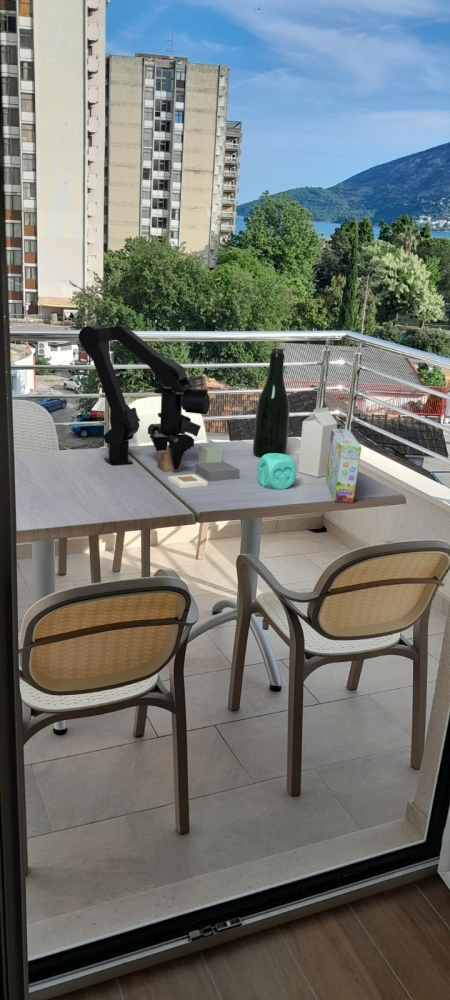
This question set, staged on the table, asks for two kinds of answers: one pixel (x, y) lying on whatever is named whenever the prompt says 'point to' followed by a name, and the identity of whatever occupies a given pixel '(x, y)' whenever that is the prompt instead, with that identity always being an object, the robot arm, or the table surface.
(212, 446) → the sage cube
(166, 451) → the walnut cube
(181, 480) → the tile
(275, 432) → the green wine bottle
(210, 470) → the charcoal base block
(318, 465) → the milk carton
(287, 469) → the decorative dice
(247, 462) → the table surface
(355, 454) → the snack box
